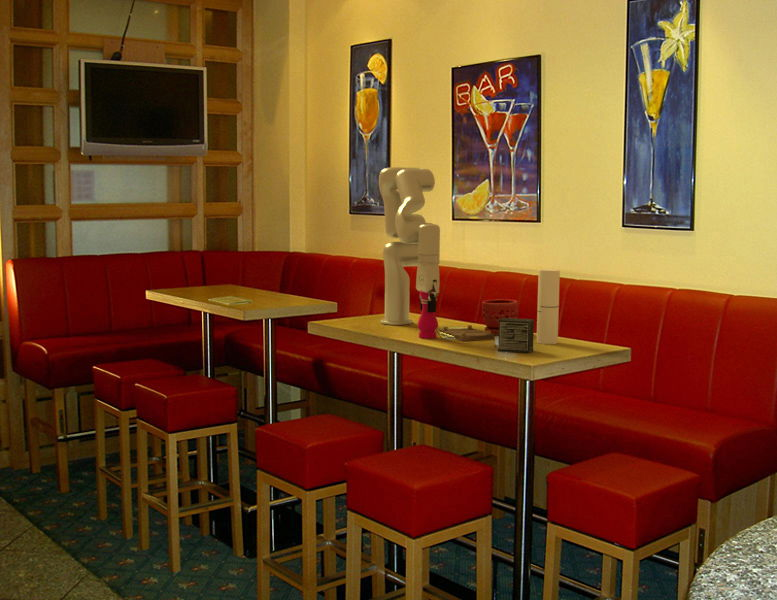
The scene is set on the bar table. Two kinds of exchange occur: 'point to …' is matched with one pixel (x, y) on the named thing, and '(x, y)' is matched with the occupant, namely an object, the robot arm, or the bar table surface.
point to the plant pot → (498, 313)
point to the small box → (516, 335)
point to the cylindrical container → (548, 306)
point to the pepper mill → (427, 319)
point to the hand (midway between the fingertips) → (428, 310)
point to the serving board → (468, 334)
